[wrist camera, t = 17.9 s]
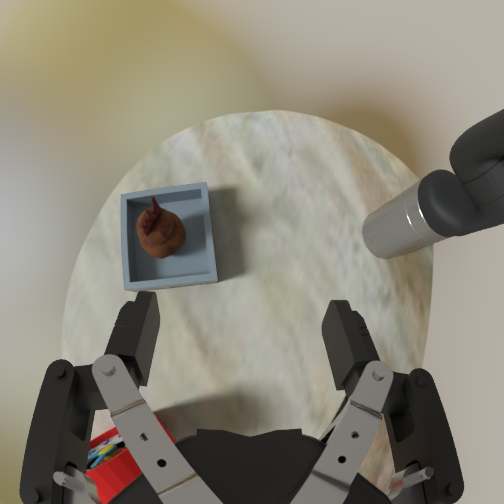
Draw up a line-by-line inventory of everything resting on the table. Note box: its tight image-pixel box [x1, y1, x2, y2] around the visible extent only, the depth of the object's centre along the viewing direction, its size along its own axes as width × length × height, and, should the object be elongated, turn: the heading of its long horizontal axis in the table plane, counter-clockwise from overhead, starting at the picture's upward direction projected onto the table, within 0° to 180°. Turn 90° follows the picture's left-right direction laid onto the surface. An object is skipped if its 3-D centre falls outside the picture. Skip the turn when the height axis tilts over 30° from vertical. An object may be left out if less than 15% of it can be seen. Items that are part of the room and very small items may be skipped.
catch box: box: [121, 182, 218, 292], centre depth 43 cm, size 14×15×5 cm
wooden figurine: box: [137, 197, 186, 259], centre depth 37 cm, size 7×6×15 cm
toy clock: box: [86, 414, 176, 504], centre depth 29 cm, size 20×6×20 cm, turn 123°
